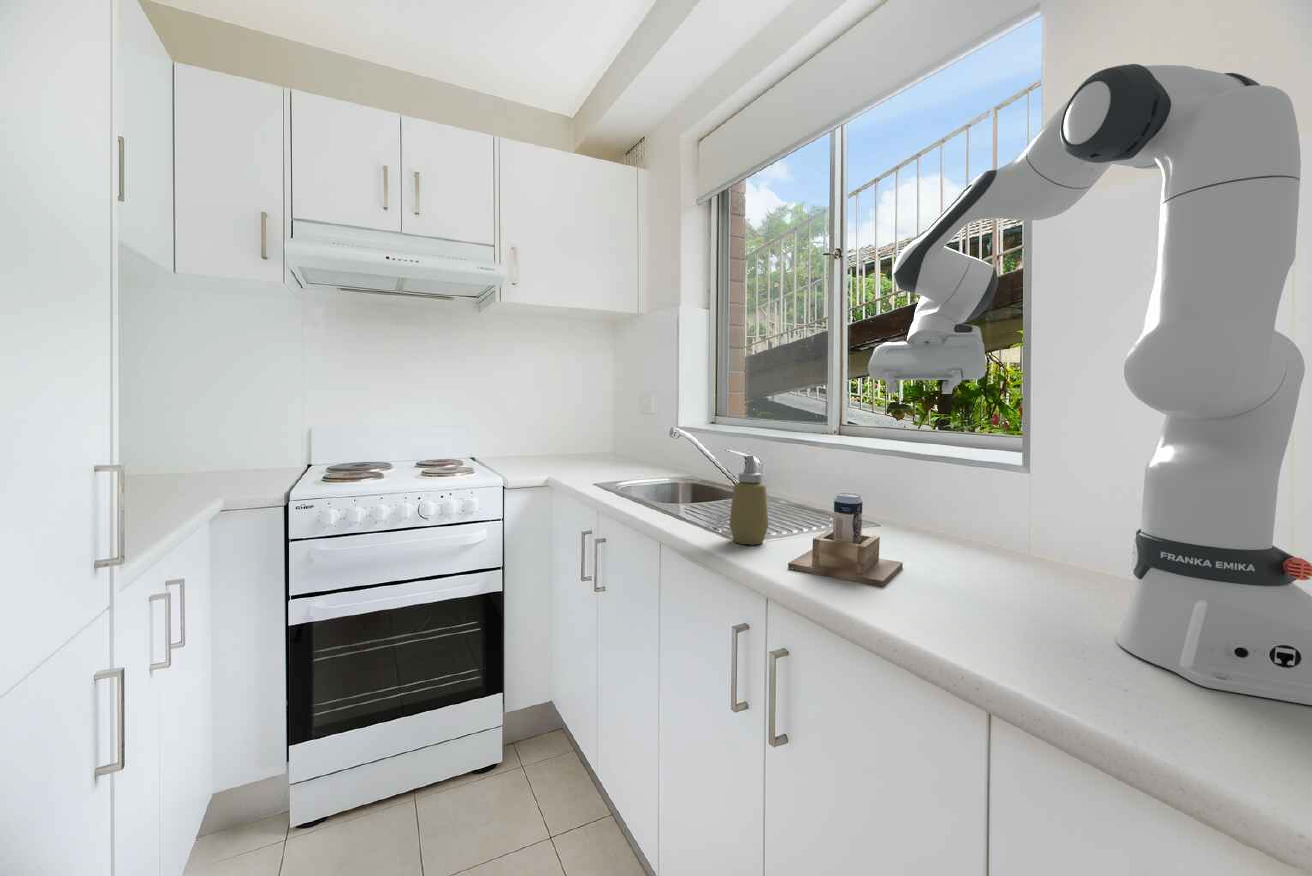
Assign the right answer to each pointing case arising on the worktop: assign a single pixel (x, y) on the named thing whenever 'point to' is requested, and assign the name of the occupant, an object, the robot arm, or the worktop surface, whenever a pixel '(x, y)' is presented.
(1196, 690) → the worktop surface
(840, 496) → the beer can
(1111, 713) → the worktop surface
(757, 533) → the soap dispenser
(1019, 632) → the worktop surface
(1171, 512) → the robot arm
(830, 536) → the can caddy
